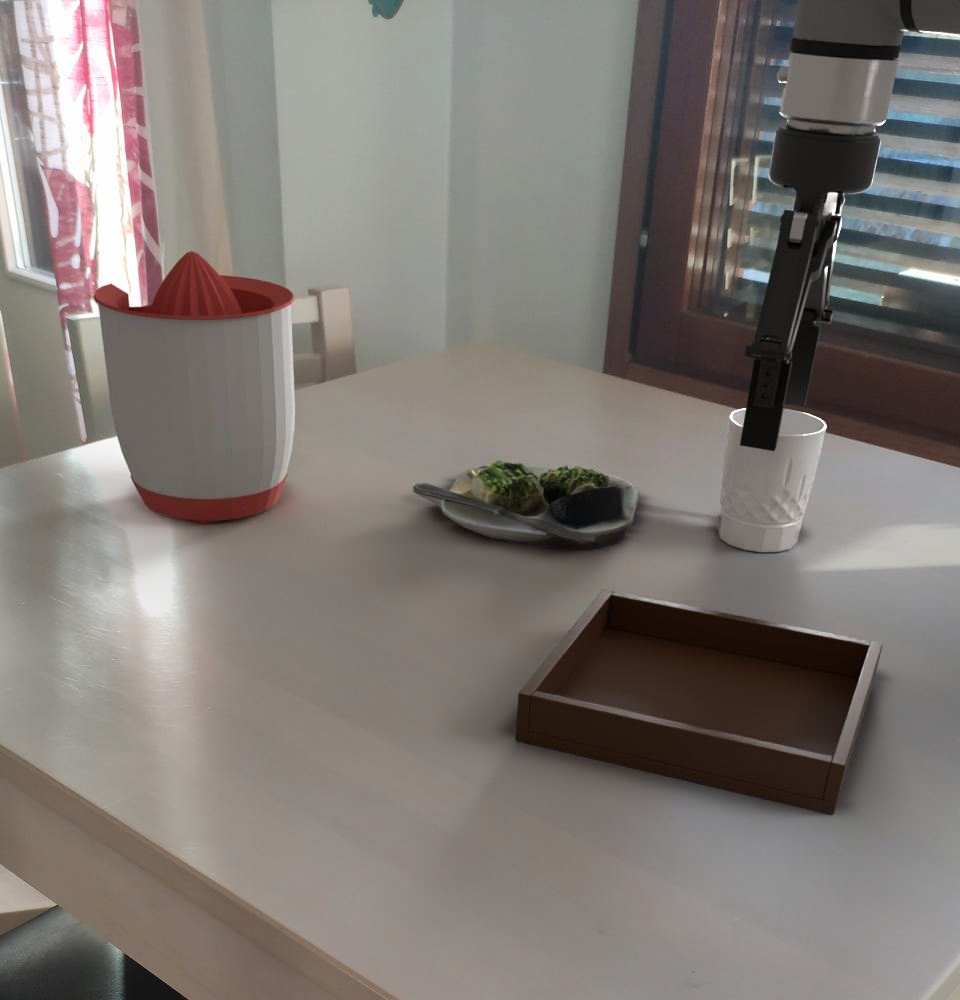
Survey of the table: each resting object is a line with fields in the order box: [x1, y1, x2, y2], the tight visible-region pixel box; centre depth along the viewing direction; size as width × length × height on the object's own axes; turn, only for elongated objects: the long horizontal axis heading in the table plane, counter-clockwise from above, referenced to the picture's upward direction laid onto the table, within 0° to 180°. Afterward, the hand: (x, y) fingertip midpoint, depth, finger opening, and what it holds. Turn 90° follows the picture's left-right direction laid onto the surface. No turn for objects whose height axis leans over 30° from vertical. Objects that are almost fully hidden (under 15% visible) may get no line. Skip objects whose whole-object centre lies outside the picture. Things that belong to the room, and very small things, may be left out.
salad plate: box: [412, 460, 639, 551], centre depth 109 cm, size 19×18×5 cm
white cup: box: [717, 407, 828, 553], centre depth 105 cm, size 8×8×10 cm
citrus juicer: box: [93, 250, 296, 525], centre depth 104 cm, size 16×17×20 cm
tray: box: [514, 588, 884, 815], centre depth 81 cm, size 20×18×3 cm
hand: (774, 424), depth 103 cm, fingers open, 13 cm apart
